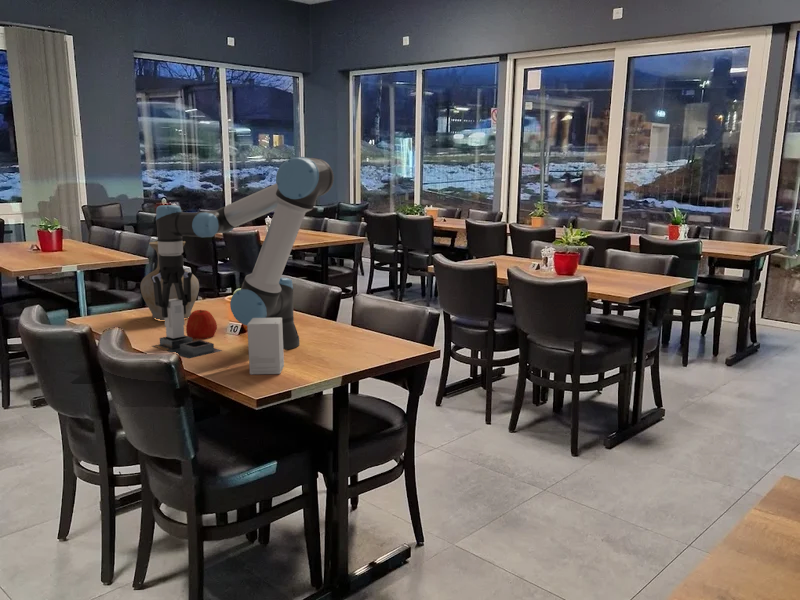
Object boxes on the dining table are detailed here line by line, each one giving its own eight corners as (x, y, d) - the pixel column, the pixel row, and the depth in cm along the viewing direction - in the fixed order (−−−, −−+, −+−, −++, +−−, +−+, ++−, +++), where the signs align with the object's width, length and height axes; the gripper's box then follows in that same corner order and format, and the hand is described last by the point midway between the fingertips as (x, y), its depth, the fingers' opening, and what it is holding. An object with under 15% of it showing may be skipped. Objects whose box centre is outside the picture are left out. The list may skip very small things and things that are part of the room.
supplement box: (284, 365, 199) (283, 316, 196) (280, 374, 190) (279, 323, 188) (254, 365, 199) (252, 317, 196) (248, 374, 190) (246, 323, 187)
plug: (185, 336, 217) (183, 300, 214) (174, 339, 214) (172, 302, 211) (177, 334, 220) (175, 298, 217) (166, 336, 217) (164, 300, 214)
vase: (187, 310, 279) (183, 238, 273) (209, 318, 262) (206, 243, 256) (134, 316, 265) (129, 241, 259) (154, 326, 248) (148, 246, 243)
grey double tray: (222, 354, 211) (222, 343, 210) (189, 362, 202) (188, 350, 202) (184, 342, 225) (183, 332, 225) (151, 349, 216) (150, 338, 216)
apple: (223, 337, 233) (221, 308, 231) (203, 344, 224) (201, 313, 222) (200, 334, 237) (198, 305, 235) (179, 340, 228) (177, 311, 226)
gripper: (188, 251, 220) (191, 319, 225) (139, 255, 208) (144, 328, 212) (200, 253, 216) (204, 323, 220) (152, 257, 203) (156, 332, 207)
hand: (174, 325), depth 216 cm, fingers closed on plug, 4 cm apart
